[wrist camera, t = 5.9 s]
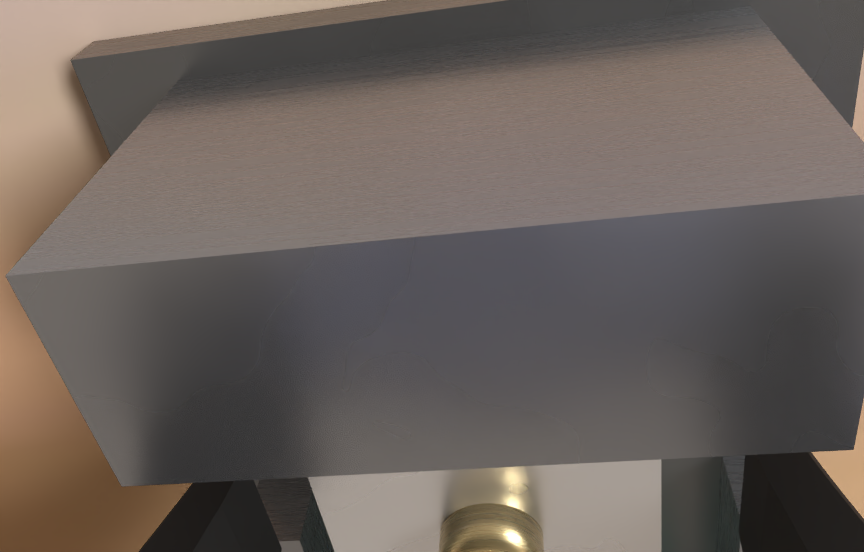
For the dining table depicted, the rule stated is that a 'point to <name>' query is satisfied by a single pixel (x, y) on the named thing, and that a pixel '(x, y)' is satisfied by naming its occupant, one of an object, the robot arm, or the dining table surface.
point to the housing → (496, 509)
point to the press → (467, 247)
